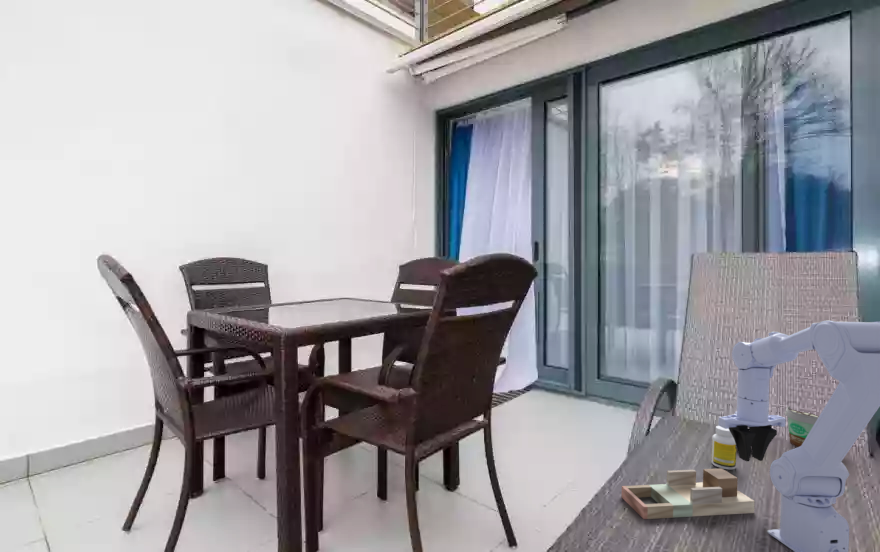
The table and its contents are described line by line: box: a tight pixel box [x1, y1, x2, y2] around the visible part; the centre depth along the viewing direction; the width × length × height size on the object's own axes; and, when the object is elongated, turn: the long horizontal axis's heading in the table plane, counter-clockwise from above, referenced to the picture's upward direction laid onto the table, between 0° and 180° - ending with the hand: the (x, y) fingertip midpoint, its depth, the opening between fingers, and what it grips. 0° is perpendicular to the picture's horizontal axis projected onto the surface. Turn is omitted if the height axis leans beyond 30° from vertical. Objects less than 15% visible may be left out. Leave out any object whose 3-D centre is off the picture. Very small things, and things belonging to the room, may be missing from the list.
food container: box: [784, 405, 820, 448], centre depth 129 cm, size 12×6×10 cm, turn 25°
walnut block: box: [702, 468, 739, 497], centre depth 97 cm, size 4×4×4 cm
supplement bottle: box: [710, 425, 737, 470], centre depth 116 cm, size 5×5×10 cm
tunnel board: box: [620, 469, 756, 520], centre depth 96 cm, size 9×25×6 cm, turn 97°
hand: (750, 459), depth 98 cm, fingers open, 3 cm apart
